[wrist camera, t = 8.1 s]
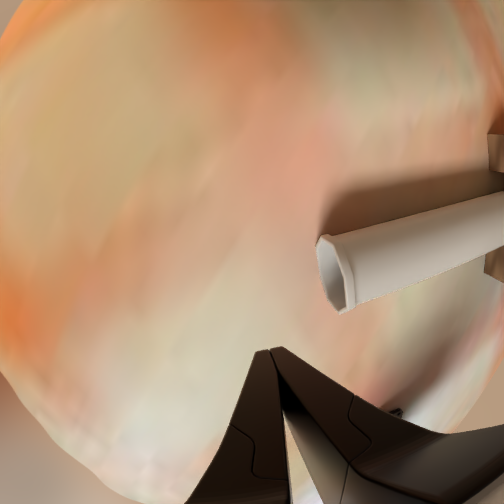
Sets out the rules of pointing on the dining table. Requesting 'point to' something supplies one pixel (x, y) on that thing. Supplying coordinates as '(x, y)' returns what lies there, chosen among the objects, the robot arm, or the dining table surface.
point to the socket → (500, 159)
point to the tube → (407, 250)
